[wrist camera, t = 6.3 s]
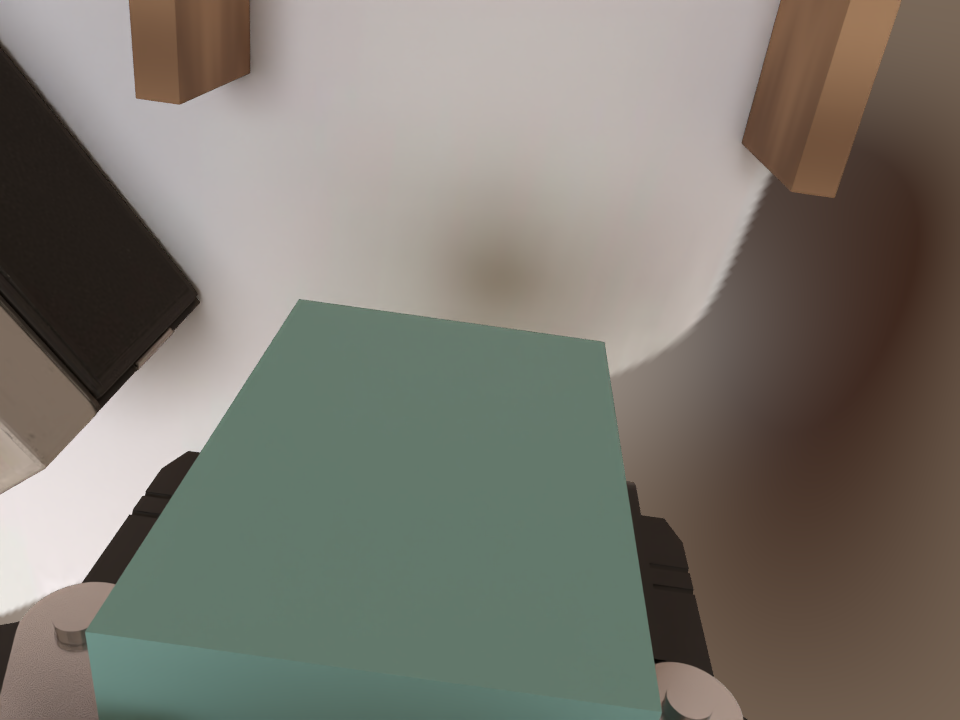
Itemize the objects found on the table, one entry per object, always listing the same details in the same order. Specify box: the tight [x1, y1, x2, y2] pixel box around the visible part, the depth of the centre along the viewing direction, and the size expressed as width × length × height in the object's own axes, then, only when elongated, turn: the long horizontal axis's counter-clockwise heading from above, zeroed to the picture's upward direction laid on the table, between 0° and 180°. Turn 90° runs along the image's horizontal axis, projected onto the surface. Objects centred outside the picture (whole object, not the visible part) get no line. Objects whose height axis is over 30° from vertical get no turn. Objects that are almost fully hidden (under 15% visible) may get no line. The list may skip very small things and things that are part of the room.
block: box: [85, 299, 662, 720], centre depth 11 cm, size 5×5×7 cm
